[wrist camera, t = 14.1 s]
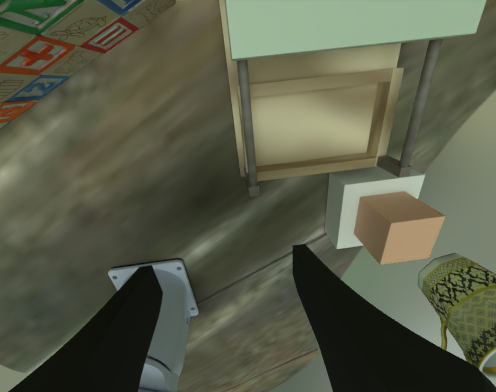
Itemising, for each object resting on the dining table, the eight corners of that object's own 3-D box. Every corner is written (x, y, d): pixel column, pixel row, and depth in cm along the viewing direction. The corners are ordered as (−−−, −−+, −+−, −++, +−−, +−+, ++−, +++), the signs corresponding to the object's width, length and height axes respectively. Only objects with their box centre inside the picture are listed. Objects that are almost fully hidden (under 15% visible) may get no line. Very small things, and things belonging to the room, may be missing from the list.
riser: (385, 222, 24) (405, 239, 22) (324, 230, 24) (336, 249, 21) (400, 163, 21) (425, 174, 18) (329, 172, 21) (344, 185, 18)
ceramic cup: (447, 232, 26) (562, 309, 17) (494, 256, 29) (613, 333, 20) (374, 300, 31) (434, 387, 22) (420, 314, 34) (490, 397, 25)
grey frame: (376, 158, 20) (414, 177, 16) (240, 175, 20) (244, 198, 16) (413, -38, 14) (489, -86, 10) (216, -19, 14) (212, -62, 10)
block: (394, 228, 21) (428, 257, 17) (353, 233, 21) (380, 264, 17) (404, 191, 19) (445, 216, 15) (360, 196, 19) (391, 223, 15)
